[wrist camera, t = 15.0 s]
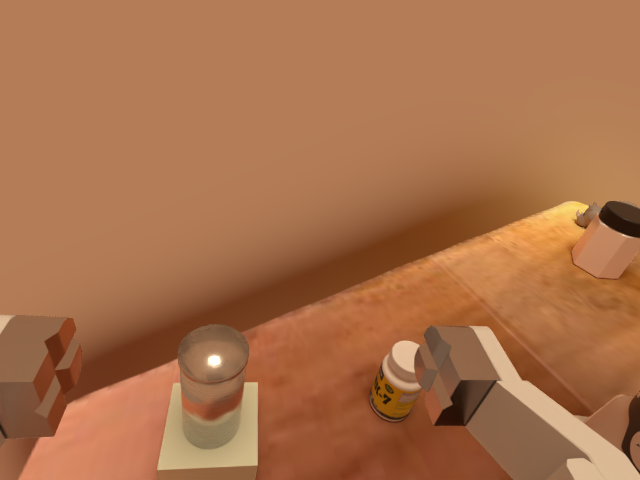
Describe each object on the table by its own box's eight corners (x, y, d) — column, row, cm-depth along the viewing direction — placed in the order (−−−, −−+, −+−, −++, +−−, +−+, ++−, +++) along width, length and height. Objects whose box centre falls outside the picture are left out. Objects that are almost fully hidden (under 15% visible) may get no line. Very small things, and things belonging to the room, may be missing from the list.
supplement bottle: (362, 387, 47) (380, 339, 42) (398, 381, 48) (420, 334, 43) (378, 426, 43) (400, 378, 38) (417, 419, 45) (443, 372, 40)
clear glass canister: (242, 395, 39) (250, 325, 33) (239, 450, 35) (247, 381, 29) (186, 394, 38) (184, 323, 32) (176, 451, 34) (171, 380, 28)
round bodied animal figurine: (579, 230, 95) (584, 194, 92) (643, 239, 86) (650, 200, 83) (568, 237, 90) (572, 200, 88) (633, 248, 82) (641, 207, 79)
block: (254, 405, 43) (257, 382, 40) (254, 487, 36) (257, 465, 34) (175, 406, 41) (173, 382, 39) (160, 492, 35) (156, 470, 32)
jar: (598, 253, 82) (635, 202, 75) (627, 280, 75) (670, 227, 68) (560, 250, 80) (593, 198, 73) (586, 278, 73) (626, 223, 67)
